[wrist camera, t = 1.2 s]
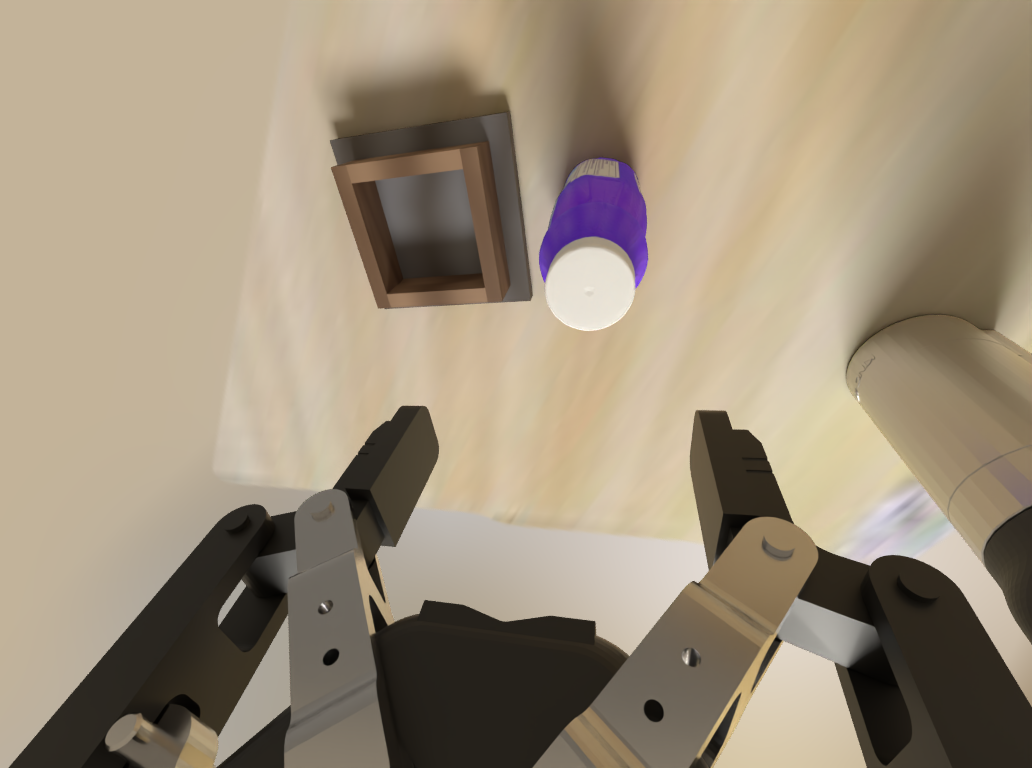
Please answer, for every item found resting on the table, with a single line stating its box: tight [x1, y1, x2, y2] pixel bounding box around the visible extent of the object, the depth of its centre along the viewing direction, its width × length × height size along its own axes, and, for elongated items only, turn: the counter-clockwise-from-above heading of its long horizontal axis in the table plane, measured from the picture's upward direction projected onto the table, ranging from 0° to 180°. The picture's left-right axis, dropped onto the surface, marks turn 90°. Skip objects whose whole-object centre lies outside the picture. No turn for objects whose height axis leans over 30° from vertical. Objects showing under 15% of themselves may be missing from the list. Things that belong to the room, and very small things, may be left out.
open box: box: [330, 112, 533, 309], centre depth 34 cm, size 14×14×5 cm
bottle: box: [539, 157, 648, 331], centre depth 26 cm, size 7×6×17 cm
